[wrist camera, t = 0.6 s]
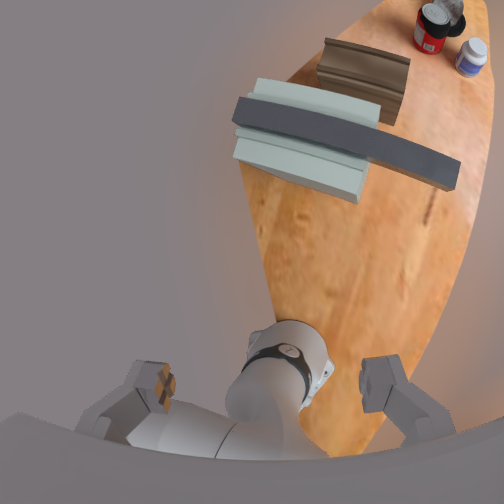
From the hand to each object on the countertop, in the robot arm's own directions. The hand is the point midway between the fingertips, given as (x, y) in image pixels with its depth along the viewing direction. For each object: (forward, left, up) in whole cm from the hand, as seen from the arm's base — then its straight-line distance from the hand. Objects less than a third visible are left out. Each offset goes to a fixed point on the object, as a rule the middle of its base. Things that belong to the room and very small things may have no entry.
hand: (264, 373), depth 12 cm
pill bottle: (+45, -15, -47) cm, 67 cm away
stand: (+14, +7, -47) cm, 49 cm away
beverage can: (+47, -6, -47) cm, 67 cm away
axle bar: (+14, +2, -21) cm, 25 cm away
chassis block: (+29, +4, -47) cm, 55 cm away
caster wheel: (+57, -11, -47) cm, 75 cm away
